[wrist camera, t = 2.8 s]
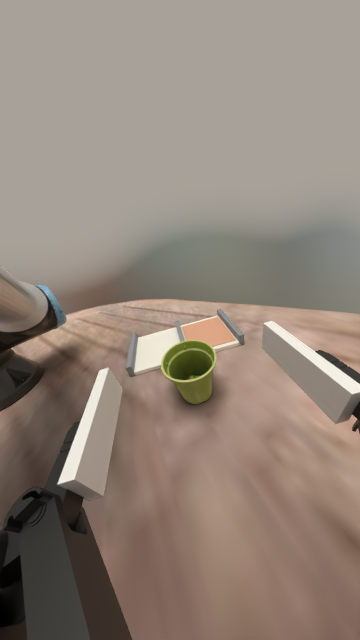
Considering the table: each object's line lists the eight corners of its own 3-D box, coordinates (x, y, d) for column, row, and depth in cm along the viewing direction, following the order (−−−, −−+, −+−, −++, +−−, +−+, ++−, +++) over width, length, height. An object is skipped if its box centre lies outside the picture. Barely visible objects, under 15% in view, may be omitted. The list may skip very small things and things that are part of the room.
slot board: (130, 376, 37) (125, 368, 36) (135, 341, 49) (131, 333, 48) (244, 344, 38) (243, 334, 36) (221, 317, 50) (220, 308, 49)
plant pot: (164, 404, 30) (149, 373, 25) (184, 366, 36) (176, 336, 32) (213, 422, 25) (206, 389, 21) (225, 375, 32) (222, 342, 28)
